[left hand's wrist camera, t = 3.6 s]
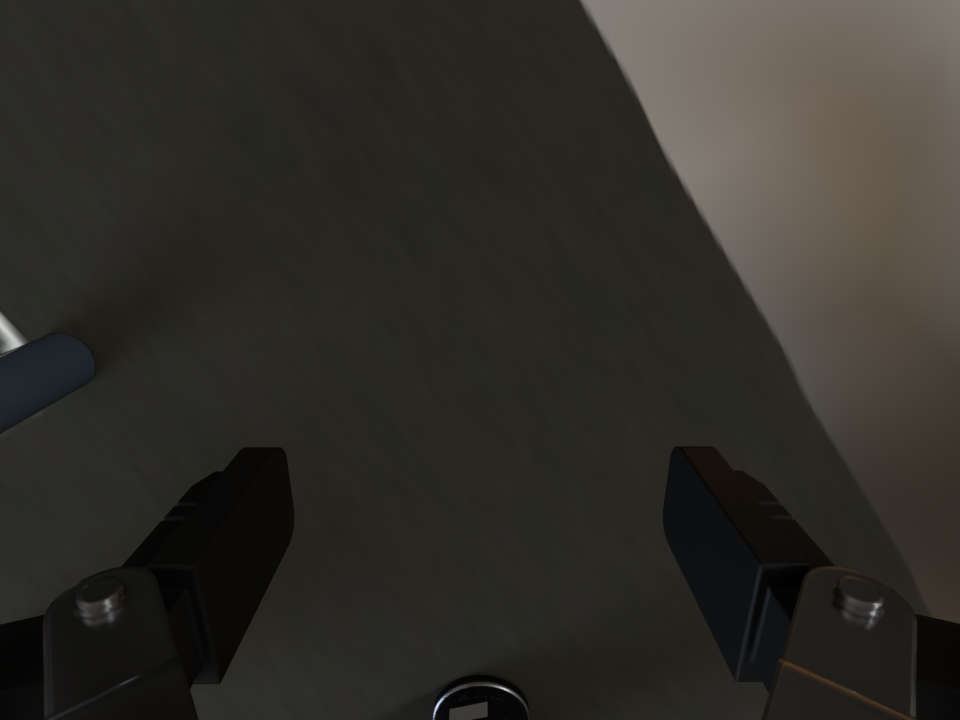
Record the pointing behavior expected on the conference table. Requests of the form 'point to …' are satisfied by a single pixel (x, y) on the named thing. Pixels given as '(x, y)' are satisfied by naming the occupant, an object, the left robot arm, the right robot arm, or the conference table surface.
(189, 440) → the conference table surface
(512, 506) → the conference table surface
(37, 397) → the dark blue cylinder
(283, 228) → the conference table surface
